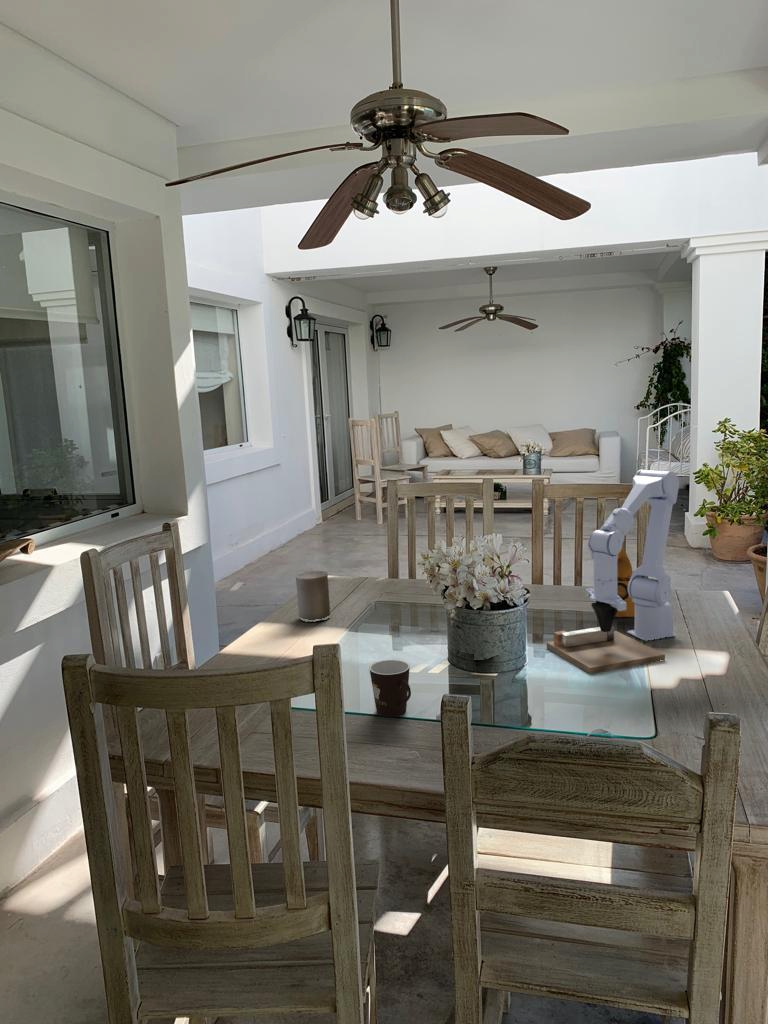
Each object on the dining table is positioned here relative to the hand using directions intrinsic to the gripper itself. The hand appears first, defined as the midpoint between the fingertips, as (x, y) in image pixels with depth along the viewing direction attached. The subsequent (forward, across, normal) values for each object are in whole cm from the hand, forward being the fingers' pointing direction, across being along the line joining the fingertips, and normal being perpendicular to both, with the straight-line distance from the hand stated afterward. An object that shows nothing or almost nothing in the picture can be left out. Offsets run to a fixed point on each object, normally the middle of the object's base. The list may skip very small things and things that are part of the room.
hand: (605, 630), depth 197 cm
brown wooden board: (+6, 0, -1) cm, 6 cm away
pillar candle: (+6, -63, -60) cm, 87 cm away
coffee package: (+7, -28, +23) cm, 37 cm away
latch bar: (+4, -5, -2) cm, 7 cm away
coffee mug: (+5, +12, -61) cm, 63 cm away
